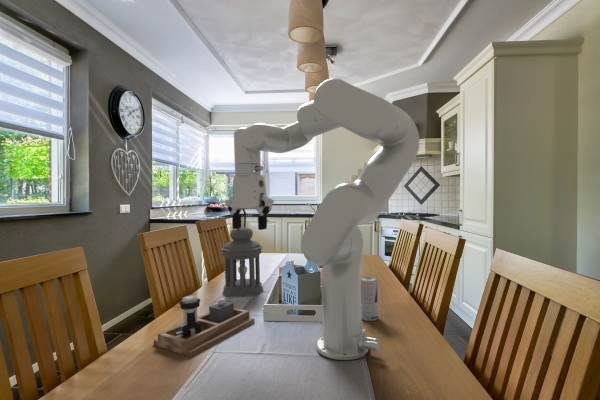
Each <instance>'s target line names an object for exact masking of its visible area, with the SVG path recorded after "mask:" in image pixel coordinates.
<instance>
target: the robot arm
mask: <svg viewBox="0 0 600 400" xmlns="http://www.w3.org/2000/svg"><path fill="white" fill-rule="evenodd" d="M312 98H313V99H312V100H310V101H309V102H306V103H303V104H302V105H300V106H299V108H298V109H297V111H296V112H297V114H296V120H297V121H296V122H293V123H291V124H289V125H286V126H284V127H280V126H277V125H272V124H267V123H263V122H258V123H254V124H251V125H250V126H247V127H240V128H237V129H236V130H235V131H234V133H233V144H234V145H233V146H234V148H233V151H234V153H233V154H234V176H233V180H232V187H231V188H232V190H231V197H229V198H228V199H226V201H225V204H226V207H227V210H228V212H229V213H230V215H231V216H232V218H231V219H232V220H231V221H232V230H233V229H237V228H241V227H242V215H241V214H240V213H241V212H242V211H243V210H242V209H245V210H255V211H257V213H258V214H259V215H258V217H257V226H258V228H257V229H258V230H259V231H261V230H262V231H263V230H267V227H268V218H267V216H268V215H269V214H270V212H271V211H272V207H273V206H274V202H275V201H274V199H273V198H270V197H269V196H268V195H267V189H266V188H267V187H266V181H265V178H264V175H262V174H261V173H262V171H263V170H264V167H263V165H261V152H268V153H276V154H283V153H288V152H291V151H294V150H298V149H300V148H302V147H305V145H307V144H309V143H310V142H311V141H312V140H313V138H315V137H317V136H319V135H323V134H325V133H327V132H331V131H333V130H336V129H338V128H343V129H346V130H348V131H349V132H351V133H353V134H355V135H356V136H358V137H361V138H362V139H365V140H368V141H371V142H374V143H378V144H379V145H380V146H379V148H378V150H377V151H376V153H374V154H373V156H372V157H371V158H369V160H368V162H367V163H366V164H365V166H364V168H363V170H362V171H361V173H360V174H359V176H357V178H356V180H355V181H354V182H343V183H340V184H337V185H336V186H334V187H333V188H331V189H330V190H329V191H328V192H327V194H326V195H325V196H324V198H323V199H322V201H321V203H320V204H319V206H318V208H317V209H316V211H315V212H314V214H313V215H312V217H311V219H310V221H309V223H308V224H307V225H306V228H305V230H304V232H303V234H302V237H301V250H302V254H303V256H304V258H305V259H306V260H307V261H308V262H309V263H311V264H313V265H316V266H322V268H321V310H322V311H321V313H322V314H321V315H322V316H321V318H322V319H321V320H322V337H320V338H319V339H318V340H317V341H316V350H317V351H318V353H319V354H320V355H322V356H324V357H325V358H328V359H333V360H336V361H337V360H339V361H352V360H356V359H360V358H362V357H364V356H365V355H367V354H368V352H369V350H370V351H373V352H378V350H379V346H380V345H379V342H377V339H378V338H375V337H369V336H368V335H366V329H364V328H363V327H362V319H361V278H362V276H361V275H362V272H361V271H362V257H363V248H364V239H363V238H364V237H363V234H362V232H361V228H359V226H362V225H366V224H369V223H372V222H374V221H376V219H377V218H378V217H379V216H380V214H381V213H382V212H383V209H384V207H386V205H387V203H388V202H389V200H390V199H391V197H392V196H393V194H394V193H395V192H396V190H398V189H397V188H398V187H399V185H400V184H401V182H402V181H403V179H404V178H405V177H406V175H407V173H408V172H409V170H410V169H411V167H412V165H413V164H414V162H415V160H416V158H417V155H418V153H419V149H420V135H419V134H420V133H419V131H418V128H417V126H416V124H415V121H414V120H413V118H412V117H411V116H410V115H409V114H408V113H407V112H406V111H405V110H403V109H402V108H400V107H398V106H397V105H395V104H393V103H392V102H390V101H388V100H386V99H384V98H383V97H381V96H377V95H376V94H373V93H371V92H369V91H366V90H364V89H362V88H360V87H358V86H355V85H353V84H351V83H349V82H347V81H345V80H343V79H341V78H338V77H337V78H330V79H329V78H328V79H325V80H324V81H323V82H321V83H320V84H319V85H318V86H317V88H316V89H315V91H314V94H313V97H312Z"/></svg>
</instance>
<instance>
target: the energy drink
mask: <svg viewBox="0 0 600 400" xmlns="http://www.w3.org/2000/svg"><path fill="white" fill-rule="evenodd" d="M378 295H379V294H378V280H377V277H376V278H375V277H374V276H373V277H372V276H363V277H362V276H361V321H365V322H375V321H377V320H378V318H379V305H378V304H379V300H378V299H379V298H378Z"/></svg>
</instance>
